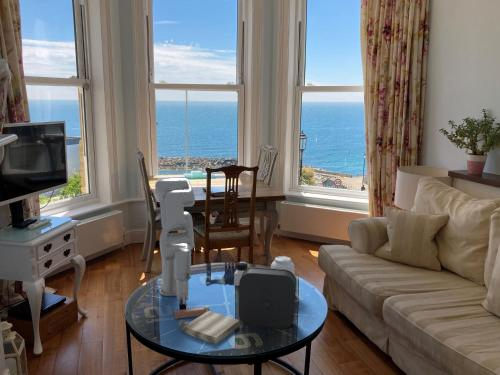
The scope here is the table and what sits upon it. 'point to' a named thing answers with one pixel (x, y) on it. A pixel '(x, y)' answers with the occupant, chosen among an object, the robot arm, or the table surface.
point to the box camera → (239, 272)
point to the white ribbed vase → (283, 264)
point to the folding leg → (190, 312)
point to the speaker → (267, 297)
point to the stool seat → (210, 327)
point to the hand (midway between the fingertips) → (182, 311)
